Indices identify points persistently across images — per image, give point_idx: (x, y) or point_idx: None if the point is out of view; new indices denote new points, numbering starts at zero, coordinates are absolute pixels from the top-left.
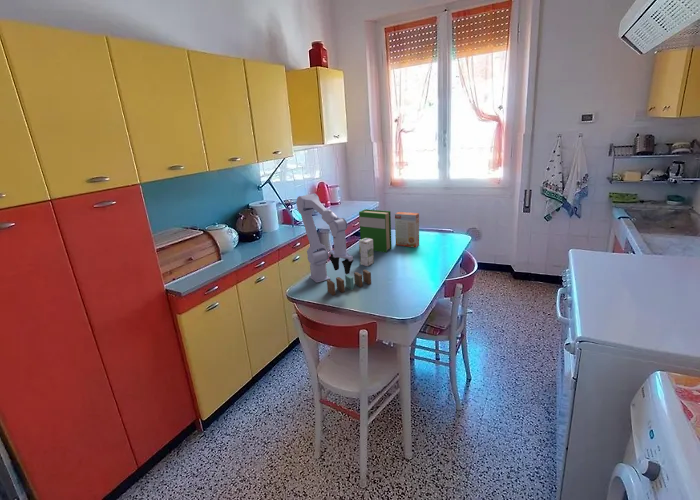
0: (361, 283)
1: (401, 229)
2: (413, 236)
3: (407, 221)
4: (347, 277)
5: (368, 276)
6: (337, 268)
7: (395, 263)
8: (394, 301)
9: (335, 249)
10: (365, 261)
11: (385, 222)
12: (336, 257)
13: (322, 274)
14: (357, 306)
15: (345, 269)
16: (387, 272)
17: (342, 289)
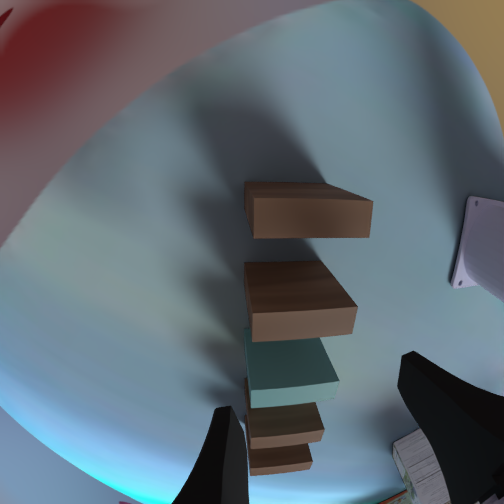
0: (246, 401)
1: None
2: None
3: None
4: (298, 381)
5: (248, 453)
6: (405, 385)
7: (331, 490)
8: (39, 392)
9: None
10: (409, 450)
11: None
12: (470, 483)
13: (490, 255)
14: (28, 253)
15: (200, 461)
16: (294, 474)
17: (245, 279)
